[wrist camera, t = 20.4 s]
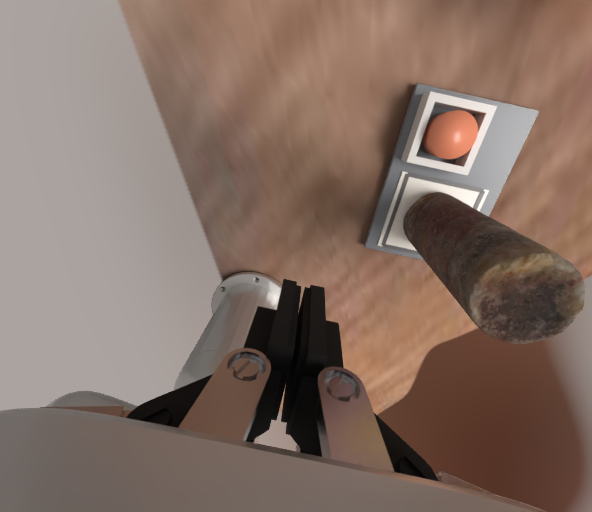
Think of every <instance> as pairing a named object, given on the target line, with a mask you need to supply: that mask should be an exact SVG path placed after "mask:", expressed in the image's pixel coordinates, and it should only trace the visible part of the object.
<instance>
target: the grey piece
mask: <svg viewBox="0 0 592 512" xmlns="http://www.w3.org/2000/svg"><path fill="white" fill-rule="evenodd" d="M456 110H462V111H466V112H468V113H470V114H471V115H472V116H473V117H474V118H475V120H476V122H477V125H478V134H477V138H476V141H475V143H474V145H473V146H472V147H471V149H470V150H469V151H468V152H467V153H465V154H464V155H462V156H460V157H458V158H455V159H444V158H439V157H435V156H432V155H431V154H429V153H428V152H427V151H426V149H425V148H424V145H423V135H424V132H425V129H426V126H427V124H428V123H429V122H430V120H431V119H432V118H434V117H435V116H437V115H438V114H441V113H444V112H450V111H456ZM538 113H539V111H537V110H533V109H528V108H524V107H520V106H515V105H511V104H506V103H502V102H497V101H493V100H489V99H484V98H480V97H475V96H471V95H466V94H462V93H458V92H453V91H449V90H444V89H440V88H435V87H431V86H427V85H422V84H416V85H415V87H414V90H413V93H412V96H411V99H410V102H409V105H408V109H407V112H406V115H405V118H404V121H403V124H402V127H401V131H400V134H399V137H398V140H397V143H396V146H395V149H394V153H393V156H392V159H391V162H390V165H389V168H388V171H387V174H386V178H385V181H384V184H383V187H382V190H381V193H380V196H379V200H378V203H377V206H376V209H375V212H374V215H373V218H372V222H371V225H370V228H369V231H368V234H367V237H366V240H365V244H364V246H365V247H366V248H370V249H375V250H380V251H384V252H389V253H393V254H398V255H403V256H407V257H412V258H416V259H421V260H424V259H423V258H422V257H421V255H420V254H419V253H418V252H417V250H416V249H415V248H414V247H413V245H412V244H411V243H410V241H409V240H408V239H407V237H406V235H405V232H404V229H403V219H404V216H405V214H406V212H407V211H408V210H409V208H410V207H411V206H412V205H413V204H414V203H415V202H416V201H417V200H418V199H419V198H421V197H422V196H424V195H426V194H428V193H434V192H442V193H446V194H449V195H451V196H453V197H455V198H457V199H459V200H460V201H462V202H464V203H466V204H467V205H469V206H471V207H472V208H474V209H476V210H478V211H479V212H481V213H483V214H484V215H486V216H488V217H489V215H490V213H491V211H492V208H493V206H494V204H495V202H496V200H497V198H498V196H499V194H500V192H501V190H502V188H503V186H504V184H505V181H506V179H507V177H508V175H509V173H510V171H511V169H512V167H513V165H514V163H515V161H516V159H517V157H518V154H519V152H520V150H521V148H522V146H523V144H524V142H525V140H526V138H527V136H528V134H529V132H530V130H531V128H532V125H533V123H534V121H535V119H536V117H537V115H538Z"/></svg>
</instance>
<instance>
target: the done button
mask: <svg viewBox="0 0 592 512" xmlns="http://www.w3.org/2000/svg"><path fill="white" fill-rule="evenodd" d="M477 134H478V125H477V122H476V120H475V118H474V117H473V116H472V115H471V114H470V113H468V112H466V111H462V110H456V111H450V112H444V113H441V114H438V115H437V116H435V117H434V118H432V119H431V120H430V122H429V123H428V124H427V126H426V129H425V132H424V135H423V145H424V148H425V149H426V151H427V152H428V153H429V154H431V155H432V156H435V157H439V158H444V159H455V158H458V157H460V156H462V155H464V154H465V153H467V152H468V151H469V150H470V149H471V147H472V146H473V145H474V143H475V141H476V138H477Z"/></svg>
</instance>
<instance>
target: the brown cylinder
mask: <svg viewBox="0 0 592 512" xmlns="http://www.w3.org/2000/svg"><path fill="white" fill-rule="evenodd" d="M403 229H404V232H405V235H406V237H407V239H408V240H409V241H410V243H411V244H412V245H413V247H414V248H415V249H416V250H417V252H418V253H419V254H420V255H421V257H422V258H423V259H424V260H425V261H426V263H427V264H428V265H429V266H430V267H431V269H432V270H433V271H434V273H435V274H436V275H437V276H438V278H439V279H440V280H441V281H442V283H443V284H444V285H445V286H446V288H447V289H448V290H449V292H450V293H451V294H452V295H453V296H454V298H455V299H456V300H457V301H458V303H459V304H460V305H461V307H462V308H463V309H464V310H465V312H466V313H467V314H468V316H469V317H470V318H471V319H472V321H473V322H474V323H475V324H476V326H478V327H479V328H480V329H481V330H482V331H483V332H484V333H485V334H487V335H489V336H491V337H493V338H496V339H499V340H502V341H504V342H509V343H516V344H526V343H531V342H536V341H540V340H544V339H546V338H549V337H553V336H555V335H557V334H559V333H561V332H564V331H565V330H566V328H567V327H568V325H569V324H571V323H572V322H573V321H574V319H575V318H576V316H577V315H578V314H579V313H580V312H581V310H583V306H584V304H585V299H586V287H585V284H584V281H583V278H582V275H581V273H580V272H579V271H578V270H577V269H576V268H575V267H574V266H573V264H572V263H570V262H569V261H567V260H566V259H564V258H562V257H561V256H560V255H558V254H557V253H555V252H553V251H551V250H549V249H548V248H546V247H544V246H542V245H540V244H538V243H536V242H535V241H533V240H531V239H529V238H527V237H525V236H523V235H521V234H519V233H518V232H516V231H514V230H513V229H511V228H509V227H507V226H505V225H503V224H501V223H499V222H498V221H496V220H494V219H492V218H490V217H488V216H486V215H484V214H483V213H481V212H479V211H478V210H476V209H474V208H472V207H471V206H469V205H467V204H466V203H464V202H462V201H460V200H459V199H457V198H455V197H453V196H451V195H449V194H446V193H442V192H434V193H428V194H426V195H424V196H422V197H421V198H419V199H418V200H417V201H416V202H415V203H414V204H413V205H412V206H411V207H410V208H409V210H408V211H407V212H406V214H405V216H404V219H403Z"/></svg>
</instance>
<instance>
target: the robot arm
mask: <svg viewBox="0 0 592 512" xmlns="http://www.w3.org/2000/svg"><path fill="white" fill-rule="evenodd" d="M257 278H259V279H257ZM296 284H297V282H295V281H291V280H286V279H284V280H283V284H282V285H281V284H280V283H278V282H277V281H276V280H274V279H273V278H271V277H269V276H267V275H264V274H261V273H257V272H241V273H237V274H233V275H231V276H230V277H228V278H226V279H225V280H224V281H222V282H221V284H220V285H219V286H218V287H217V289H216V291H215V293H214V295H213V298H212V312H213V317H212V318H211V320H210V322H209V324H208V325H207V327H206V329H205V330H204V332H203V334H202V336H201V337H200V339H199V341H198V342H197V344H196V346H195V348H194V349H193V351H192V353H191V354H190V356H189V358H188V360H187V361H186V363H185V365H184V366H183V368H182V370H181V372H180V374H179V376H178V378H177V380H176V383H175V386H174V391H171V392H169V393H167V394H164V395H162V396H159V397H157V398H155V399H152V400H150V401H148V402H145V403H143V404H142V405H140V406H135V405H133V404H130V403H127V402H125V401H122V400H119V399H116V398H114V397H111V396H108V395H104V394H101V393H97V392H92V391H78V392H73V393H69V394H66V395H64V396H62V397H60V398H58V399H56V400H54V401H53V402H51V403H50V404H49V405H47V406H46V407H41V408H27V409H26V408H25V409H12V410H3V411H0V512H546V511H543V510H541V509H538V508H535V507H532V506H530V505H527V504H524V503H521V502H518V501H515V500H511V499H508V498H504V497H500V496H497V495H494V494H492V493H490V492H488V491H485V490H483V489H481V488H478V487H476V486H474V485H472V484H469V483H467V482H465V481H462V480H460V479H458V478H455V477H453V476H451V475H449V474H446V473H444V472H442V471H440V473H439V474H438V475H437V474H435V473H434V472H433V470H432V468H431V467H430V466H429V465H428V464H427V463H426V461H425V460H424V459H422V457H420V456H419V455H418V454H417V453H416V452H415V451H414V450H413V449H412V448H411V447H410V446H409V445H407V443H406V442H405V441H403V440H402V439H401V438H400V437H399V436H398V435H397V434H396V433H395V432H394V431H393V430H392V429H390V427H389V426H387V425H386V424H385V423H384V422H383V421H382V420H381V419H380V418H379V417H378V416H377V415H376V414H375V413H374V412H373V409H372V407H371V404H370V401H369V398H368V395H367V393H366V390H365V387H364V385H363V383H362V381H361V380H360V379H359V378H358V377H357V376H356V375H355V374H354V373H352V372H351V371H349V370H347V369H345V368H343V359H342V350H341V340H340V331H339V324H338V323H336V322H331V321H326V315H325V291H324V288H323V287H319V286H314V285H311V286H310V288H307V287H305V289H304V293H303V297H302V301H301V305H300V309H299V302H300V293H301V286H297V285H296ZM224 287H225V288H224ZM298 311H299V314H298ZM285 385H286V387H285ZM284 388H285V394H284V402H283V410H282V418H281V421H282V422H287V426H286V434H289V435H291V437H292V438H293V439H294V441H295V442H296V443H297V446H296V452H295V451H291V450H286V449H280V448H276V447H271V446H266V445H261V444H258V436H259V435H261V434H263V433H264V432H266V431H267V430H269V427H270V423H271V419H272V420H276V419H277V416H278V412H279V408H280V404H281V400H282V396H283V392H284Z"/></svg>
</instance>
